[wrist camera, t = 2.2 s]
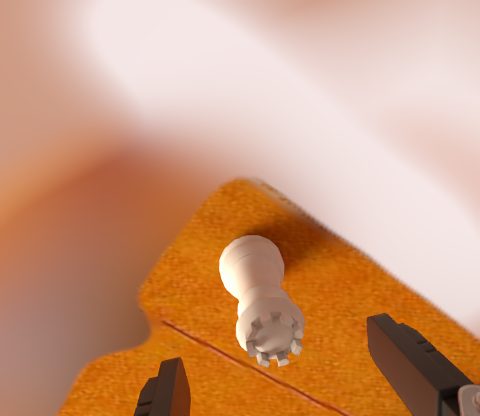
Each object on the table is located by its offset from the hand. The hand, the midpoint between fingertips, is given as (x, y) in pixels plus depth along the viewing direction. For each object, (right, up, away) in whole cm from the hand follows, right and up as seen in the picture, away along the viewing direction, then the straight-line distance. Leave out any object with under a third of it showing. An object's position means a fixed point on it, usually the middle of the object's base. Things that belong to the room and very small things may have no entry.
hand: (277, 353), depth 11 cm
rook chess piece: (-1, +2, +8) cm, 9 cm away
